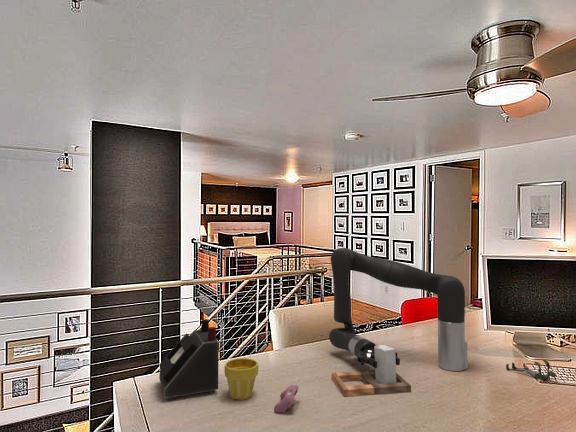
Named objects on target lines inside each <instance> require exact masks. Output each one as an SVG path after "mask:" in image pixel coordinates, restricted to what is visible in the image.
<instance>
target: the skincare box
mask: <svg viewBox="0 0 576 432" xmlns="http://www.w3.org/2000/svg"><path fill="white" fill-rule="evenodd" d="M374 351H375V360H376V361H377V368H374V370H375V376H376V379H375V381H376V382H377V383H378V384H384V383H396V373H397V365H396V358H395V352H396V348H393V347H391V346H387V345H385V344H380V345H376V346H374Z"/></svg>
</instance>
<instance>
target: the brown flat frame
mask: <svg viewBox="0 0 576 432" xmlns="http://www.w3.org/2000/svg"><path fill="white" fill-rule="evenodd" d="M331 380H332V381H333V383H334V385H335V386H336V387H337V389H338V390H339V392H340V393H341V394H343V395H342V396H343V397H356V396H371V395H383V394H384V395H385V394H398V393H411V392H412V385H411V384H410V383H409V382H407V380H406V379H404V378H403V377H402V376H401V375H400V374H398V373H397V372H396V383H384V384H379V383H377V382H376V376H375V369H374V370H361V371H359V370H358V371H344V372H342V371H341V372H332V373H331ZM354 381H355V382H356V381H358V382H359V381H362V383H363V384H356V385H346V384H345V383H344V382H354Z"/></svg>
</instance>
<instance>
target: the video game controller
mask: <svg viewBox="0 0 576 432" xmlns="http://www.w3.org/2000/svg"><path fill="white" fill-rule="evenodd" d="M299 388H300V387H299V386H298V385H297V384H293V383H291V384H290V385H289V386H288V387H286V388H285V390H283V391H282V392H281V393H280V394H279V395H280V396H279V398H280V401H279V402H277V403H276V404H275V405H274V407H273V410H274V412H275V413H276V414H278V413H282V412H284V411H286V410H287V411H288V410H289V409H290V407H291V406H292V405H293V406H294V405H295V403H296V400H295V398H296V395H297V393H298V390H299Z"/></svg>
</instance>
